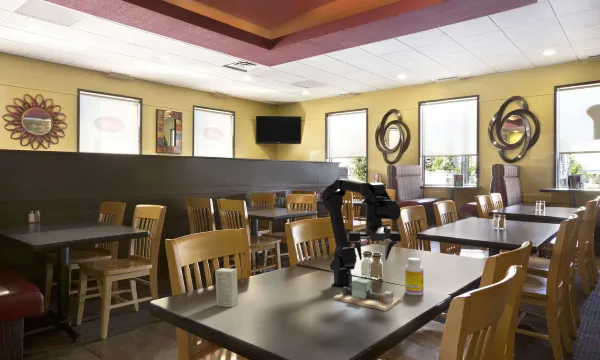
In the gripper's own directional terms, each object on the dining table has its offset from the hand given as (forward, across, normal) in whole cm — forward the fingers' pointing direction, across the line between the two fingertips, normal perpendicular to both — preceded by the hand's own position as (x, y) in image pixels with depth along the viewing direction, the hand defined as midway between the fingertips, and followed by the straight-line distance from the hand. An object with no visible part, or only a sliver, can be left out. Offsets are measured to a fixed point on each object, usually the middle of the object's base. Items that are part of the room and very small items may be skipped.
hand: (373, 260), depth 142 cm
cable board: (+13, -3, -4) cm, 14 cm away
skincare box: (+14, -52, -7) cm, 54 cm away
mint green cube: (+12, -5, -3) cm, 13 cm away
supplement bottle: (+13, +16, +3) cm, 21 cm away
